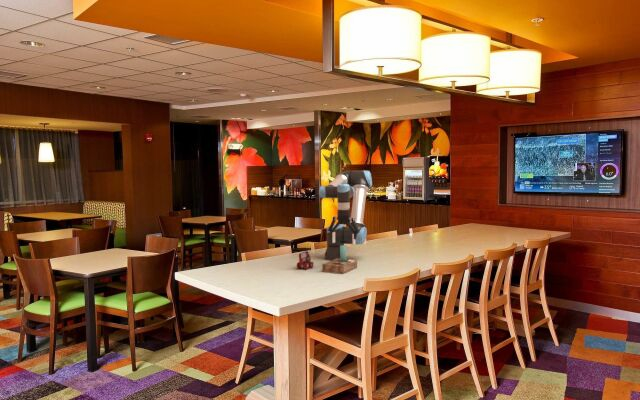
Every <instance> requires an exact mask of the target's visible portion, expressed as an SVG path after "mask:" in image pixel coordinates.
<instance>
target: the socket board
mask: <svg viewBox="0 0 640 400" xmlns="http://www.w3.org/2000/svg"><path fill="white" fill-rule="evenodd" d="M321 269H322V272H324V273H333V274H342V275H344V274H346V273H348V272H350V271H353V270H355V269H358V260H357V259H347V262H340V259H334V260H328V262H324V263H322V266H321Z"/></svg>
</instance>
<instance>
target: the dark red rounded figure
mask: <svg viewBox="0 0 640 400" xmlns="http://www.w3.org/2000/svg"><path fill="white" fill-rule="evenodd" d="M298 258H299V259H298V260H299V261H297V262H296V268H297V269H298V270H301V268H302V269H304V270H309V269H312V268H313V267H314V262H313V261H312V259H311V256H310V253H309V251H308V250H305V251H302V252H300V253H298Z"/></svg>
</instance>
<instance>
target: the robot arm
mask: <svg viewBox="0 0 640 400" xmlns="http://www.w3.org/2000/svg"><path fill="white" fill-rule="evenodd" d="M372 180H373V178H372V173H371V171H370V170H364V169H363V170H345V171H343V172H340V173H338V174H337V175H336V176H335V177H334V179H333V180H332V181H331V182H329V183H328V184H327V185H321V186H319V189H318V196H319V198H321V199H337V201H336V202H337V204H336V205H337V212H336V213H337V216H332V220H331V223H330V225H329V226H327V227H326V250H325V253H324V260H327V261H332V260H334V259H340V246H341V245H363V244H364V243H365V242H366V239H367V235H368V234H367V233H368V230H367V229H368V228H367V227H366V225H365V224H364V218H365V217H364V216H365V207H366V200H367V199H366V198H367V192H368V191H369V190H370V188H372V186H373V181H372ZM351 198H352V204H351V203H350V199H351ZM350 204H351V205H352V207H350ZM350 208H351V211H350ZM350 212H351V214H350ZM336 221H337V222H336ZM335 223H336V224H335ZM346 225H347V226H346Z"/></svg>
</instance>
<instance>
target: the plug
mask: <svg viewBox="0 0 640 400" xmlns="http://www.w3.org/2000/svg"><path fill="white" fill-rule="evenodd" d="M347 250H348V249H347V245H346V244H344V245H341V246H340V262H347V260H348V258H347V257H348V253H347Z"/></svg>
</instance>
